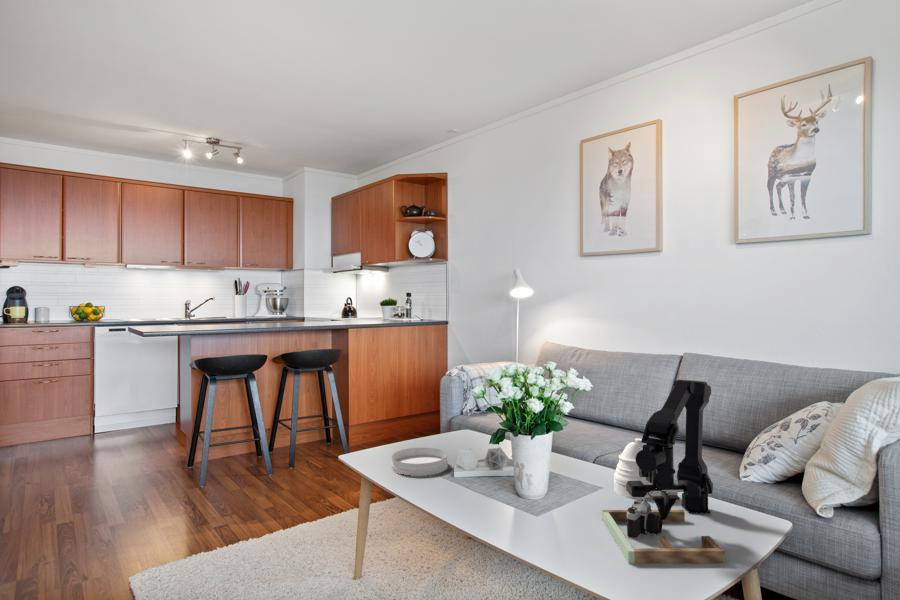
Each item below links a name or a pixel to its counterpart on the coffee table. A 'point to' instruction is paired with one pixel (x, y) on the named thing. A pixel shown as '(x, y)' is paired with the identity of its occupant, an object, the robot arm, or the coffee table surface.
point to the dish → (419, 461)
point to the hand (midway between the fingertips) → (663, 519)
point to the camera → (642, 520)
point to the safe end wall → (618, 537)
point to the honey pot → (628, 469)
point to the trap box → (666, 550)
